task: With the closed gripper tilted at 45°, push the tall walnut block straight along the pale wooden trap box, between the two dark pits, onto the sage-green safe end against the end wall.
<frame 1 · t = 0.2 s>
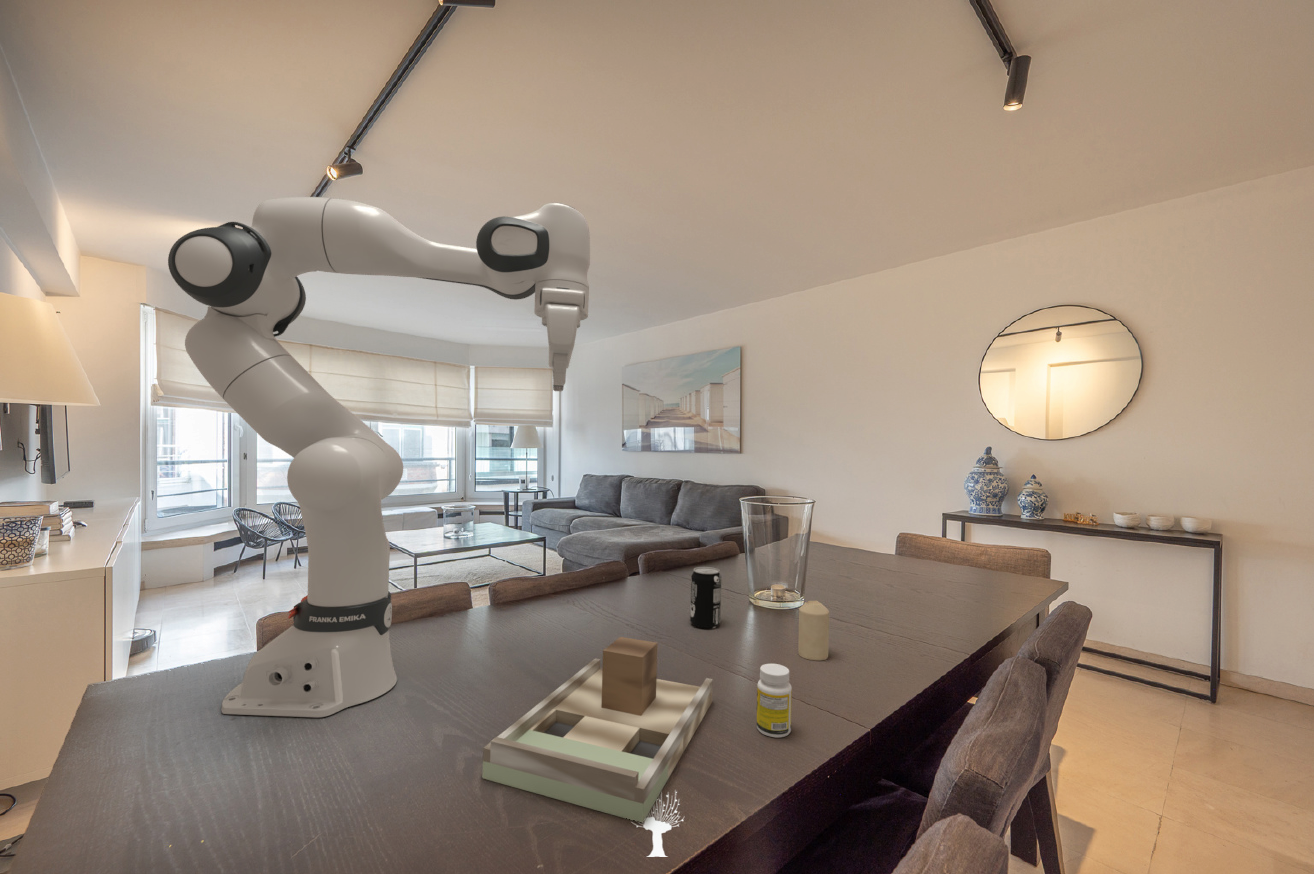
hand: (558, 388, 92), 48 cm above the table, tool pointing down, fingers open, 8 cm apart
candle: (813, 656, 105), on the table
walnut block: (629, 702, 79), point 2 cm above the table, touching trap box
supplement bottle: (773, 730, 77), on the table
trap box: (608, 740, 73), on the table
safe end: (575, 778, 64), on the table
beverage can: (705, 625, 120), on the table
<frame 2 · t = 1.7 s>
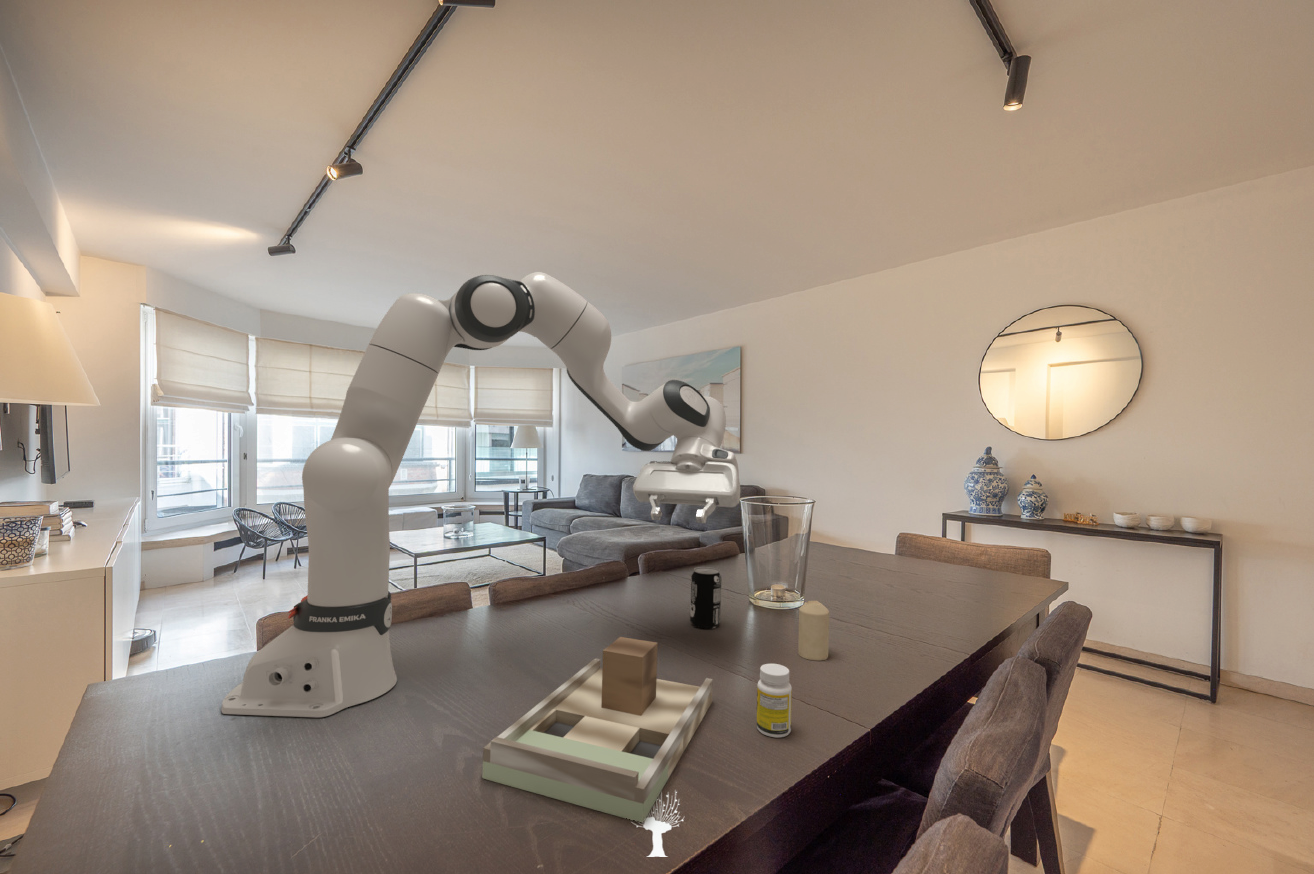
hand: (677, 519, 99), 26 cm above the table, tool tilted 45°, fingers open, 7 cm apart
nothing on the table moved.
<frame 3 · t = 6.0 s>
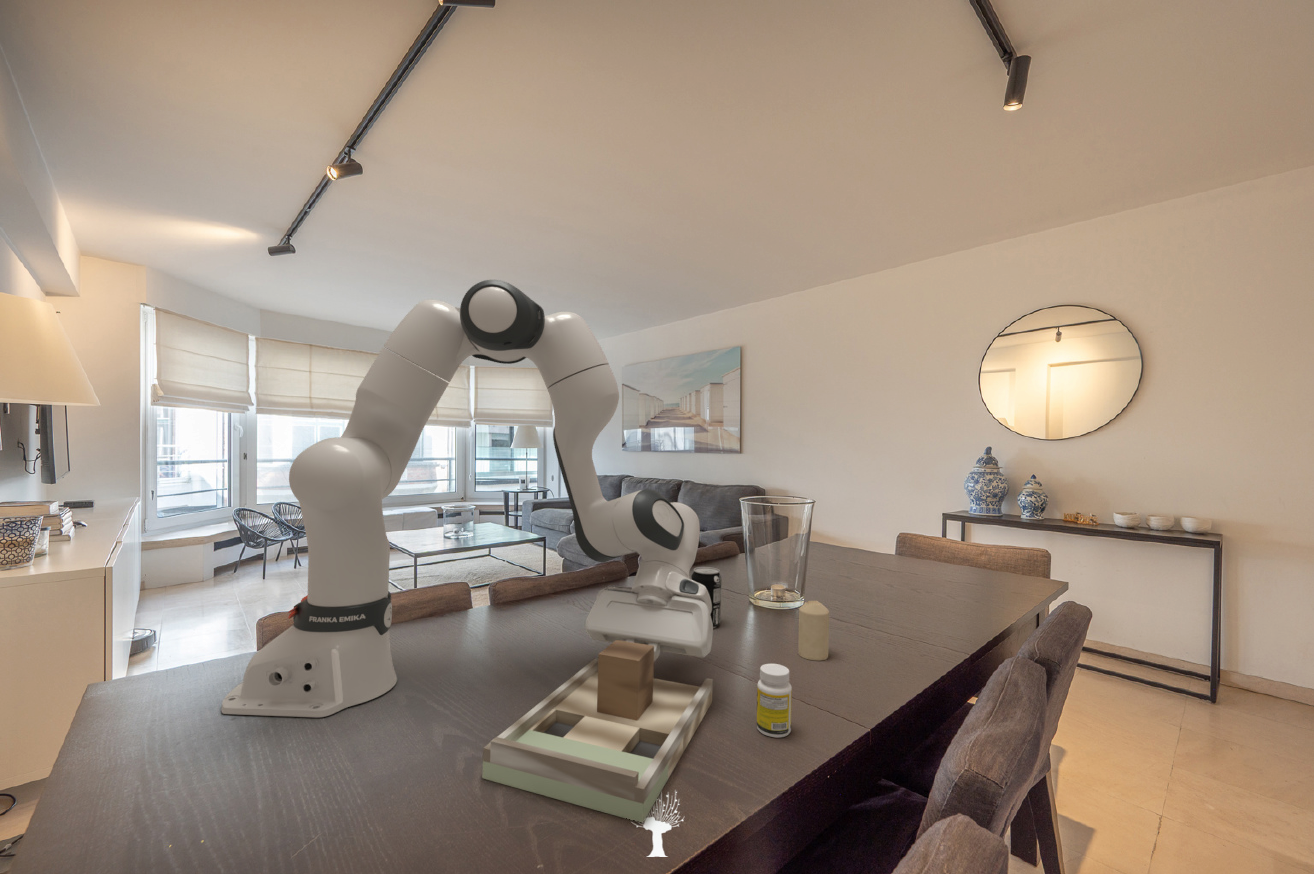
hand: (634, 673, 82), 5 cm above the table, tool tilted 45°, fingers closed, pressing on walnut block
walnut block: (625, 706, 78), point 2 cm above the table, touching gripper
everything else where it was.
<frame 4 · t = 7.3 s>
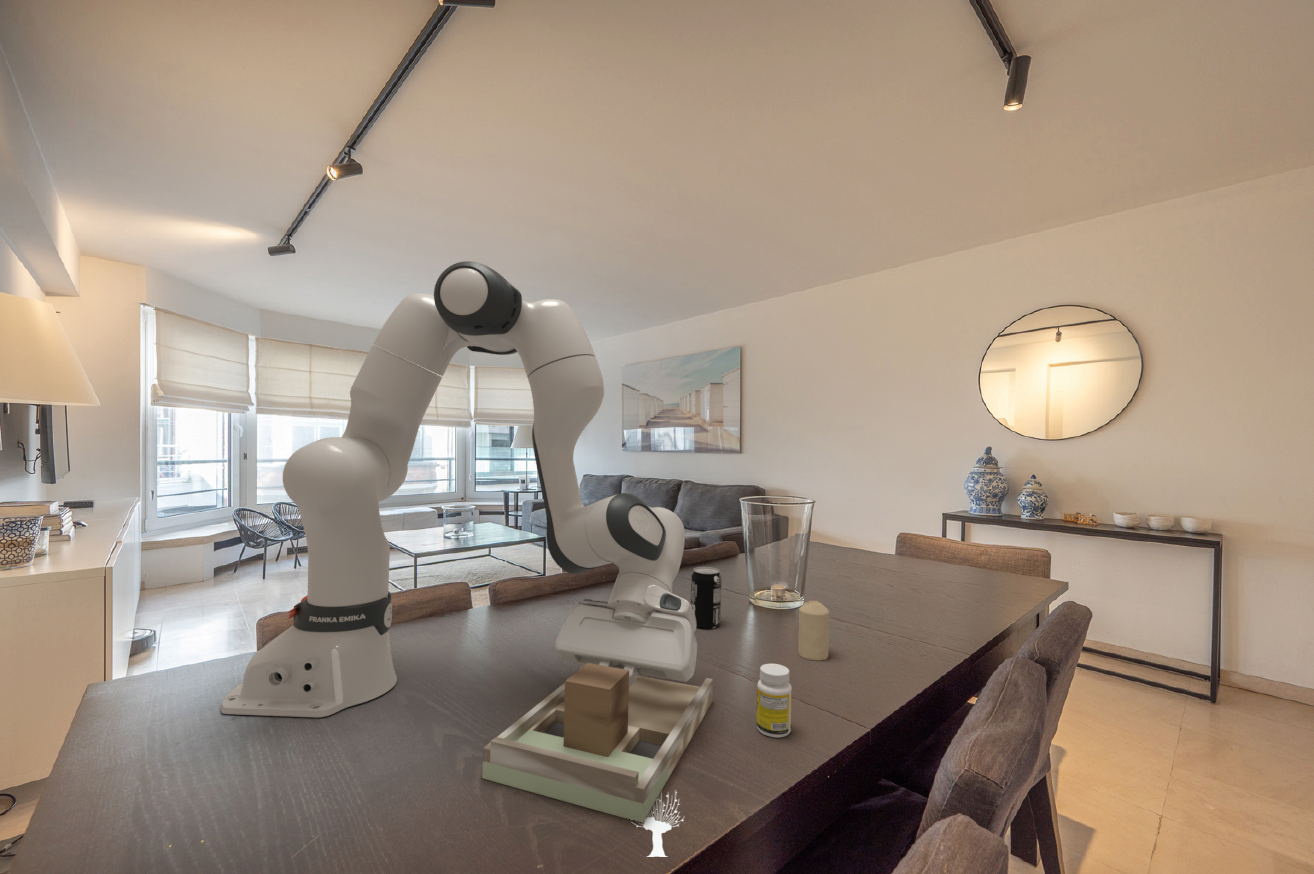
hand: (608, 700, 73), 5 cm above the table, tool tilted 45°, fingers closed, pressing on walnut block
walnut block: (596, 739, 69), point 2 cm above the table, touching gripper, safe end
everything else where it was.
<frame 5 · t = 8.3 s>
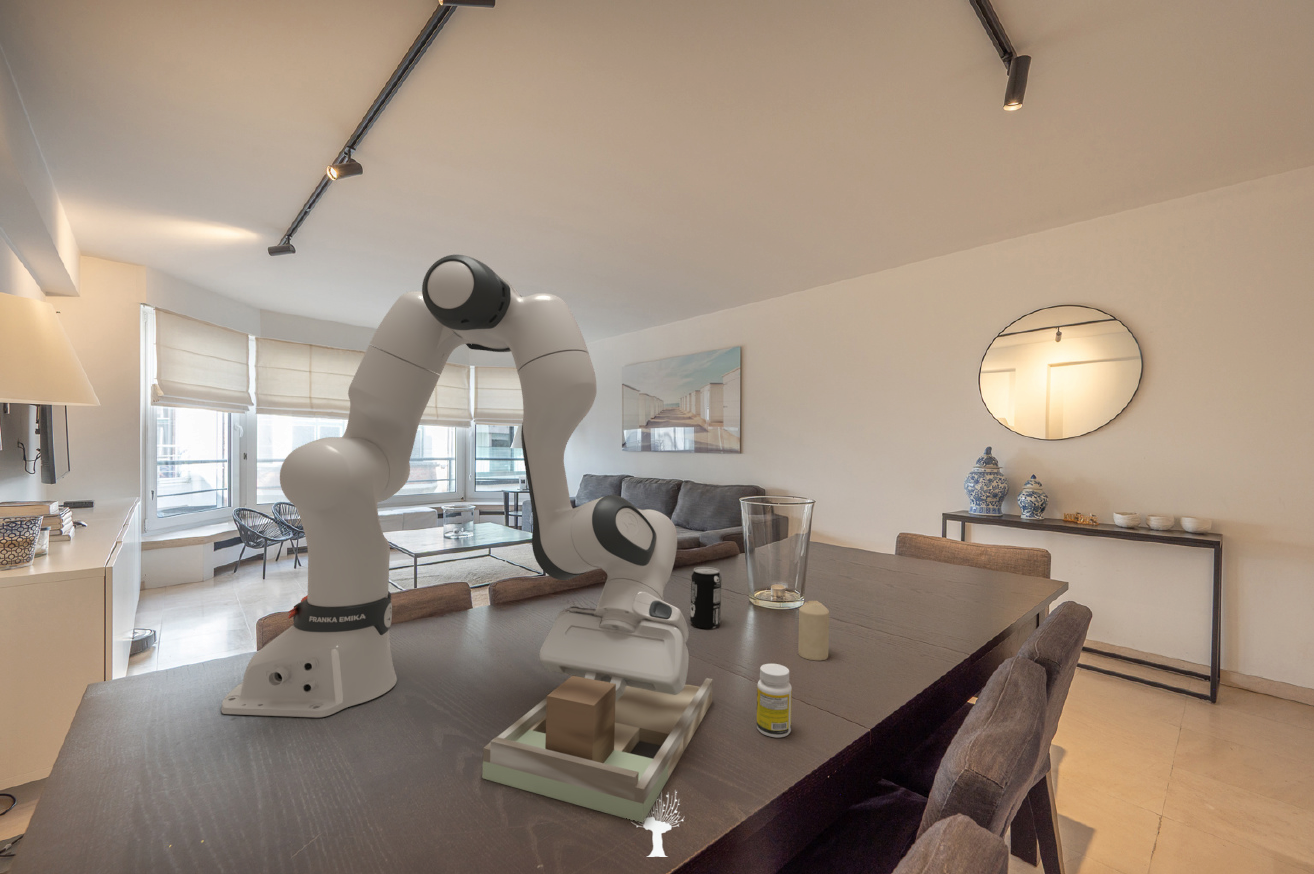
hand: (594, 714, 69), 5 cm above the table, tool tilted 45°, fingers closed, pressing on walnut block
walnut block: (580, 757, 65), point 2 cm above the table, touching gripper, safe end
everything else where it was.
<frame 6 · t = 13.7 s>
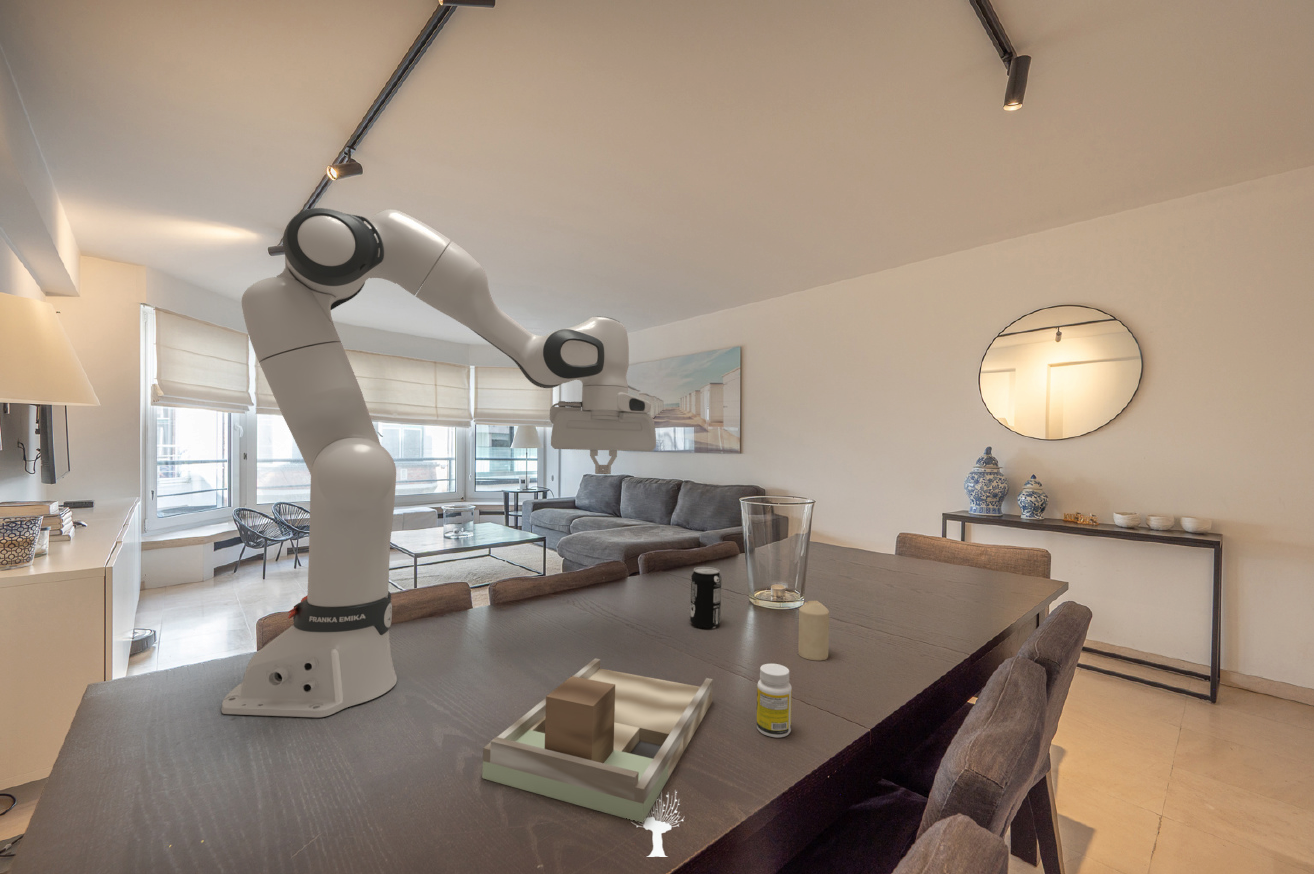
hand: (602, 474, 107), 33 cm above the table, tool pointing down, fingers closed
walnut block: (579, 758, 65), point 2 cm above the table, touching safe end
everything else where it was.
at the end: walnut block 0.8 cm from the safe end (horizontally); walnut block tilted 0°; walnut block point 2.0 cm above the table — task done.
